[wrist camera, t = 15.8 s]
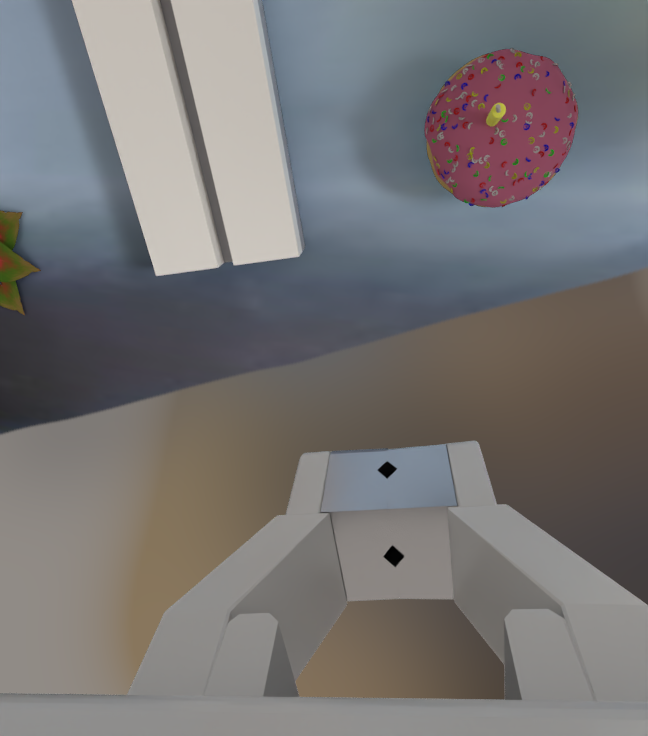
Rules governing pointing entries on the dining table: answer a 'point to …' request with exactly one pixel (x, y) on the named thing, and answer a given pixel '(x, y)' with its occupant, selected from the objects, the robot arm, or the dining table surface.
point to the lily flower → (11, 262)
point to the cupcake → (501, 127)
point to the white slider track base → (196, 128)
